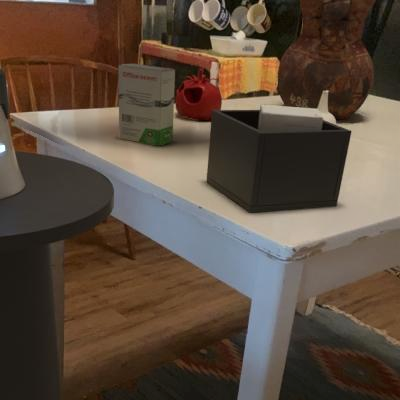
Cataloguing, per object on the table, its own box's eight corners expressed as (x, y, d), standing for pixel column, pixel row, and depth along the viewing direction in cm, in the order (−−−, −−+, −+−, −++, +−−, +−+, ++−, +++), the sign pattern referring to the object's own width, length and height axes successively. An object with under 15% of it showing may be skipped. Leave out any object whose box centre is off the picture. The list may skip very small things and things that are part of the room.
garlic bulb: (332, 131, 125) (339, 89, 121) (336, 137, 120) (344, 94, 116) (301, 128, 125) (308, 86, 121) (304, 135, 120) (311, 91, 116)
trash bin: (250, 212, 78) (259, 133, 73) (206, 181, 88) (211, 110, 83) (336, 205, 83) (351, 130, 78) (285, 177, 93) (296, 109, 88)
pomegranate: (203, 111, 133) (206, 64, 128) (230, 121, 126) (234, 72, 121) (164, 113, 128) (166, 64, 123) (190, 123, 121) (193, 72, 116)
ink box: (174, 142, 107) (177, 67, 101) (159, 147, 103) (162, 70, 97) (132, 133, 110) (133, 61, 104) (117, 138, 106) (117, 63, 100)
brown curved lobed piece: (259, 103, 146) (273, -19, 133) (335, 105, 152) (357, -12, 139) (298, 124, 129) (319, -15, 115) (383, 125, 135) (413, -7, 121)
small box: (306, 186, 87) (319, 108, 81) (310, 198, 82) (325, 116, 77) (250, 182, 87) (260, 103, 81) (252, 193, 82) (262, 111, 76)
